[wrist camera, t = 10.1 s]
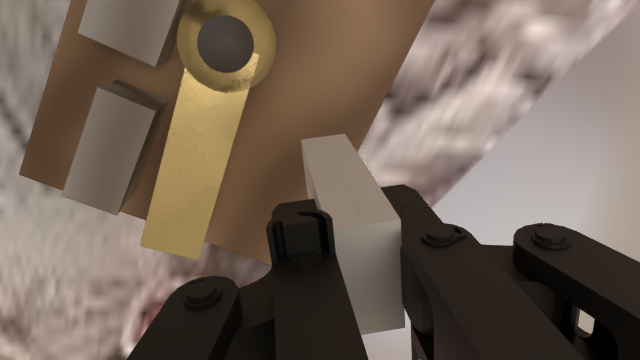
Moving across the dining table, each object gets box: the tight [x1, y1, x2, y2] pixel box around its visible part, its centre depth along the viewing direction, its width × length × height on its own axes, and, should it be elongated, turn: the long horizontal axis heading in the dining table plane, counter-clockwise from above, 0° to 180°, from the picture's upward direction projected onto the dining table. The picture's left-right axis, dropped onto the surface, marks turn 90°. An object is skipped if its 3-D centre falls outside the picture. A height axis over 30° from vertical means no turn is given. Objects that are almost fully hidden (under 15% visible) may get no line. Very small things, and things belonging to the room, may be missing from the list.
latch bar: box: [140, 0, 276, 260], centre depth 24 cm, size 13×4×4 cm, turn 161°
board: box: [19, 0, 435, 265], centre depth 23 cm, size 17×24×6 cm
